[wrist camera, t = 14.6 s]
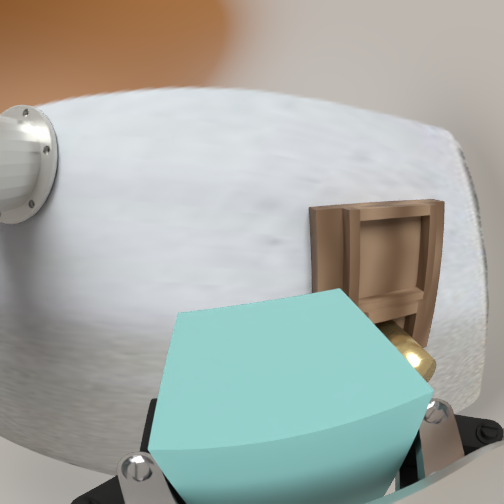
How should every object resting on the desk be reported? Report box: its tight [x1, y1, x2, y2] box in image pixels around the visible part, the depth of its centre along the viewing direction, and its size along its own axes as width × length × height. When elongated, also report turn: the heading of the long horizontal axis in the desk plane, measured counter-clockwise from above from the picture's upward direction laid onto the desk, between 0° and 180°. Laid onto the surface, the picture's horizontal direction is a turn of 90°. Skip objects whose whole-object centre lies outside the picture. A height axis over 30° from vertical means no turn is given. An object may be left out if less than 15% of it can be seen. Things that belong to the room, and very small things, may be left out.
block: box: [148, 288, 434, 504], centre depth 8 cm, size 6×6×6 cm
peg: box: [374, 319, 436, 382], centre depth 25 cm, size 4×4×8 cm
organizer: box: [309, 199, 445, 348], centre depth 27 cm, size 15×18×4 cm
